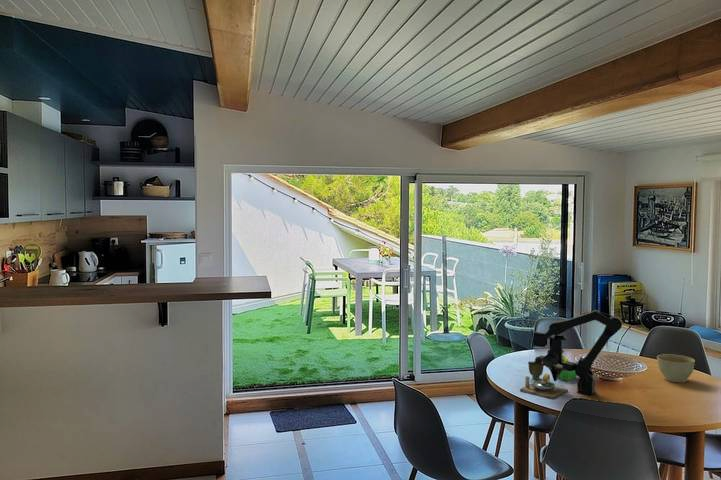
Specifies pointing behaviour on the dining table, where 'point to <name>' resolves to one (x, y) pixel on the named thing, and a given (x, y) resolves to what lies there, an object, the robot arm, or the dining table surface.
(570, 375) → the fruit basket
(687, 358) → the planter bowl
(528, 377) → the dowel pin
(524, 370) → the dining table surface
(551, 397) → the post board
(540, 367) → the cup
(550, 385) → the flange plate
